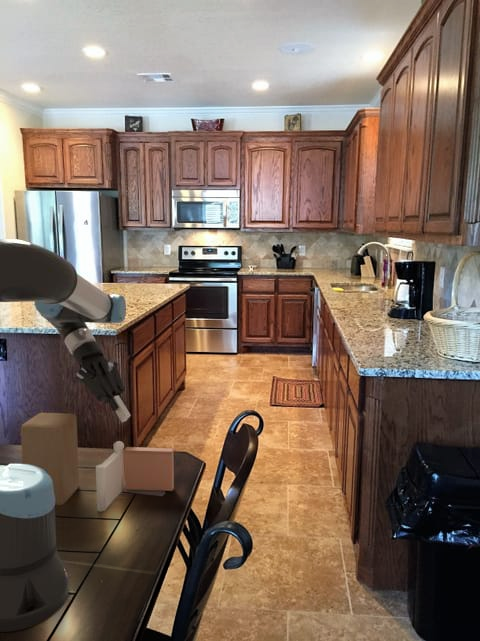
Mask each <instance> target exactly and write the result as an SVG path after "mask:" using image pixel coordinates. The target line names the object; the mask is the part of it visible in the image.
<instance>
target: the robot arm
mask: <svg viewBox="0 0 480 641" xmlns="http://www.w3.org/2000/svg"><path fill="white" fill-rule="evenodd" d="M25 302H28V303H29V302H34V306H35V310H36V311H37V312H38V313H39V315H40V316H41V317H42V318H44V319H45V320H46V321H47V322H49V323H50V324H51V325H52V326H53V327H54V328H55V329H56V331H57V332H58V333H59V336H60V337H61V339H62V340H63V342H64V344H65V346H66V348H67V350H68V352H69V353H70V354H71V355H72V357H73V359H74V361H75V363H76V365H77V366H78V367H79V370H78V371H77V373H76V374H75V377H74V378H76V379H78V381H80V382H82V383H83V384H84V386H85V387H86V388H87V389H88V390H89V391H90V392H91V394H92V395H93V396H94V398H96V399H97V400H98V401H99V402H101V403H102V402H103V401H104V404H107V405H108V406H109V407H110V409H111V410H112V411H113V412H115V414H116V415H117V417H118V419H119V420H120V422H121V423H124V422H127V420H128V419H129V418H130V417H131V413H130V411H129V410H128V408H127V403H126V402H125V400H124V398H123V397H122V395H123V394H124V392H125V391H126V389H125V387H124V383H123V381H122V377H121V375H120V372H119V368H118V366H119V363H118V362H117V361H114V362H110V361H109V360H108V359H107V358H106V357H105V356H104V352H103V349H102V347H101V346H100V345H99V343H98V341H96V338H95V337H94V335H93V333H92V332H91V330H90V328H89V327H88V325H87V323H90V324H91V323H94V324H95V323H96V324H122V323H123V322H124V320H125V319H126V313H127V303H126V299H125V297H124V296H123V295H121V294H114V293H111V294H109V293H106V292H104V291H103V290H101V289H100V288H98V287H97V286H95V285H94V284H92V283H91V282H90V281H88V280H87V279H86V278H84V277H83V276H81V275H79V274H78V273H77V270H76V268H75V266H74V265H73V264H72V263H71V262H70V261H68V260H67V259H65V258H64V257H62V256H61V255H59V254H57V253H55V252H54V251H52V250H50V249H47V248H46V247H43V246H41V245H38V244H35V243H32V242H30V241H29V242H28V241H26V240H23V239H17V238H0V303H25ZM56 528H57V527H56V505H55V494H54V490H53V482H52V479H51V477H50V476H49V475H48V473H47V472H46V471H44V470H43V469H41V468H39V467H37V466H33V465H29V464H23V463H9V464H7V465H3V464H1V465H0V632H1V633H3V632H4V633H6V632H7V633H8V632H16V631H21V630H25V629H28V628H30V627H34V626H35V625H38V624H40V623H43V622H44V621H45V620H47V619H49V618H51V616H53V615H54V614H55V613H57V612H58V611H59V610H60V609H61V608H62V607H63V606H64V604H65V602H66V601H67V599H68V597H69V591H70V587H69V585H70V584H69V583H70V582H69V575H68V573H67V571H66V569H65V567H64V565H63V562H62V559H61V557H60V554H59V553H58V550H57V531H56Z"/></svg>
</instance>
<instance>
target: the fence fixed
mask: <svg viewBox="0 0 480 641" xmlns="http://www.w3.org/2000/svg"><path fill="white" fill-rule="evenodd" d="M113 450H114V452H113V453H112V454H111V455H110V456H109V457H107V458H106V459H105V460H104V461H103V462H102V463H100V464H97V465H96V466H95V482H96V483H95V485H96V510H97V512H104V511H106V510H107V509H106V508H107V507H108V506H109V505H110V504H111V503H112V501H113V500H114V499H115V498H116V497H117V496H118V495H119V493H120V492H121V491H122V490H124V486H125V462H124V450H125V444H124V443H123V441H120V440H118V441H115V442H114V443H113ZM119 496H120V495H119ZM119 496H118V497H119ZM118 497H117V498H118ZM117 498H116V499H117ZM112 504H113V503H112ZM112 504H111V505H112ZM111 505H110V506H111Z"/></svg>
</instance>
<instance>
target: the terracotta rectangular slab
mask: <svg viewBox="0 0 480 641" xmlns="http://www.w3.org/2000/svg"><path fill="white" fill-rule="evenodd" d="M123 452H124V486H125V489H133V490H158V491H168V492H169V491H170V492H173V490H174V487H175V486H174V485H175V484H174V482H175V480H174V478H175V477H174V476H175V474H174V471H175V470H174V465H175V464H174V461H175V459H174V448H172V447H171V448H170V447H169V448H168V447H164V448H163V447H140V446H137V447H136V446H125V447H124V449H123Z"/></svg>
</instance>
